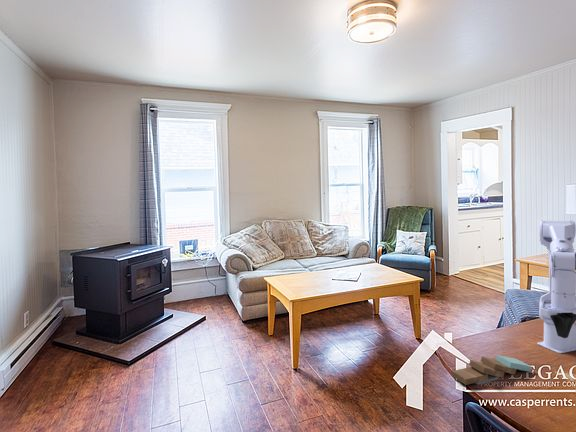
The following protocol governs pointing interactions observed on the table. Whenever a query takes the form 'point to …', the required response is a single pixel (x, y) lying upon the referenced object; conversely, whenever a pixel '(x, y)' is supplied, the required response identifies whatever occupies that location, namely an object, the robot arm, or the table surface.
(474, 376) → the domino
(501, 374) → the domino
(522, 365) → the teal domino
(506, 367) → the domino
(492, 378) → the charcoal domino
